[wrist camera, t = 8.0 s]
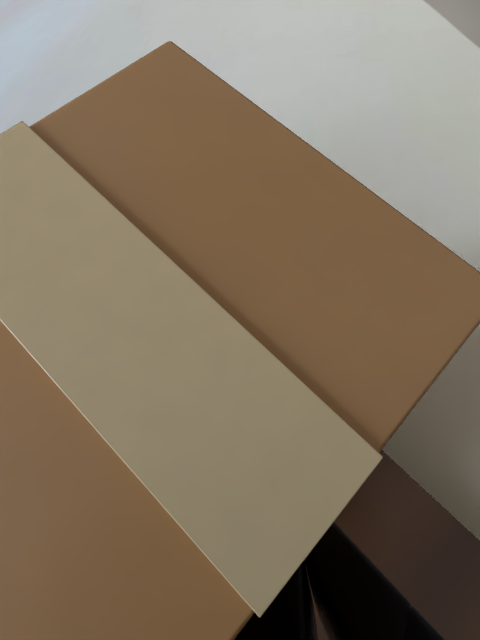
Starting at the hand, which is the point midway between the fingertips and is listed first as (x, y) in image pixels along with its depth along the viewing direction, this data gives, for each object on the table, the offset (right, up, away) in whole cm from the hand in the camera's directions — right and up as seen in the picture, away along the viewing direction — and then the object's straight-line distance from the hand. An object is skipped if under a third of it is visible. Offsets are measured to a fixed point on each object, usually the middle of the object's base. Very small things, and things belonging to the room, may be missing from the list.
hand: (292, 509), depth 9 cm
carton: (-2, 0, +7) cm, 7 cm away
